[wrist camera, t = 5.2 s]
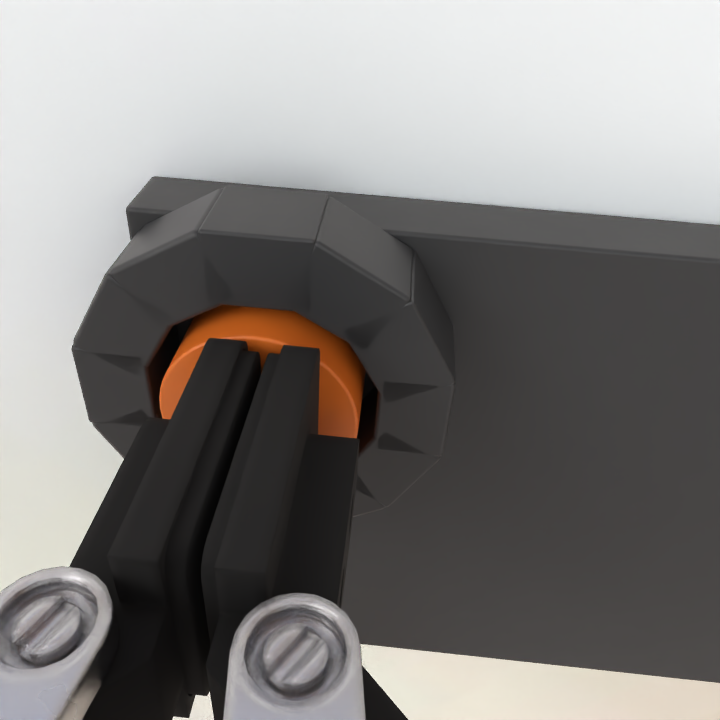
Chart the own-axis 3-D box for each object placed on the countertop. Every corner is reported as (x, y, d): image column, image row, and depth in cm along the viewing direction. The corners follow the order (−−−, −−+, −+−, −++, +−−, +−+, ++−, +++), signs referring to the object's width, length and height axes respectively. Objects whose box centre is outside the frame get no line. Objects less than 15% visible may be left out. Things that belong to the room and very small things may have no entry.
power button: (197, 412, 13) (170, 479, 12) (181, 268, 11) (145, 327, 10) (361, 429, 13) (353, 497, 12) (372, 285, 11) (364, 347, 10)
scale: (187, 579, 19) (152, 682, 17) (116, 141, 12) (36, 215, 9) (707, 635, 19) (747, 749, 16) (980, 214, 11) (1128, 313, 9)
